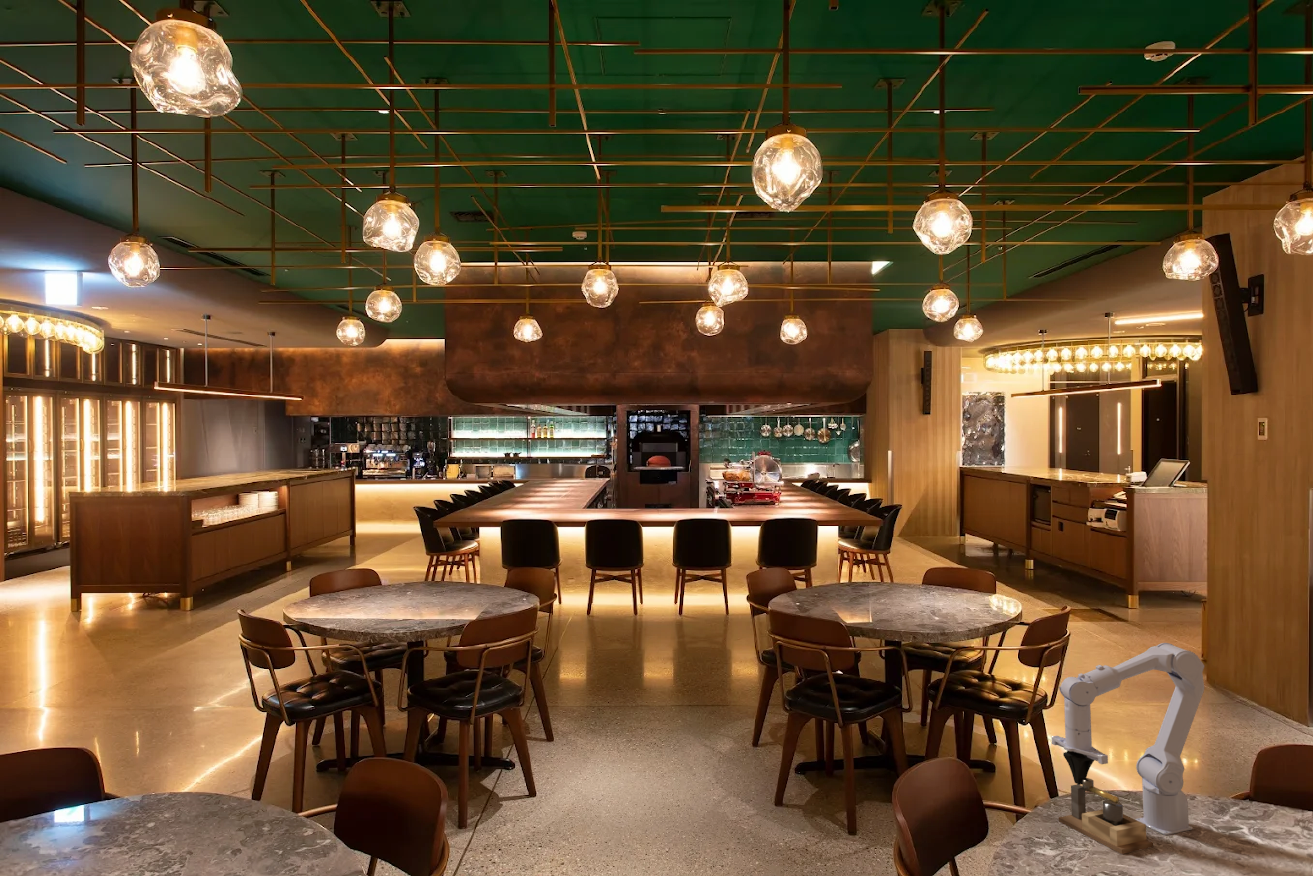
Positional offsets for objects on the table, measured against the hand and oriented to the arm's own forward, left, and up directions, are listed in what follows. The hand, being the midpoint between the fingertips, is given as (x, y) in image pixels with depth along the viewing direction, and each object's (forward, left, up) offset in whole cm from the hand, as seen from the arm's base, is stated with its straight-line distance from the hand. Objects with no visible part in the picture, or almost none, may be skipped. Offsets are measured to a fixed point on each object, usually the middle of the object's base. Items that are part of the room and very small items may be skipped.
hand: (1079, 783), depth 184 cm
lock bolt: (0, +6, -1) cm, 6 cm away
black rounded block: (0, +9, -8) cm, 12 cm away
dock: (0, +6, -9) cm, 11 cm away
